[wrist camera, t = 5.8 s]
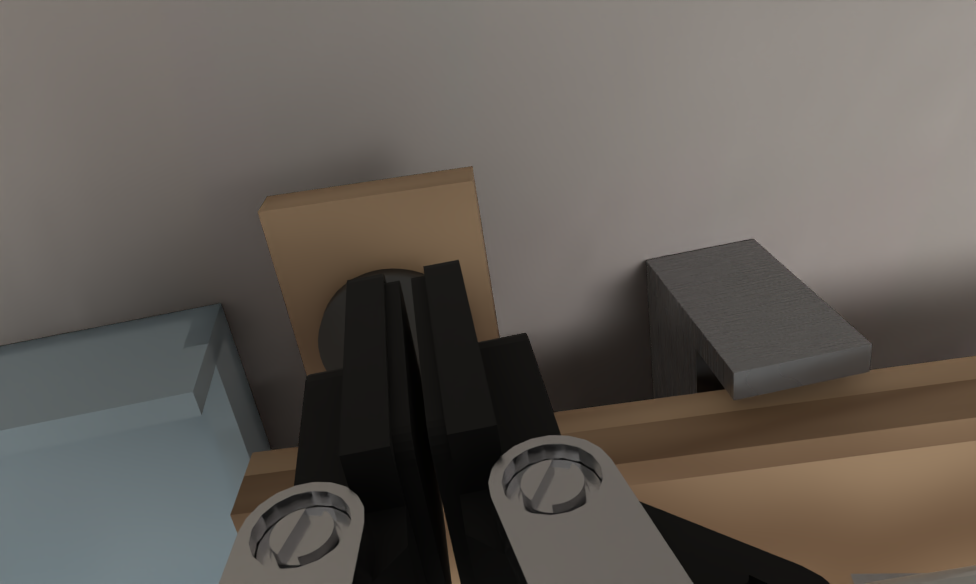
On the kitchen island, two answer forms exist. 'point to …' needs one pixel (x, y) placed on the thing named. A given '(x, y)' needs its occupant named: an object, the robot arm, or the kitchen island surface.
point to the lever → (664, 403)
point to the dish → (124, 452)
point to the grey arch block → (743, 326)
